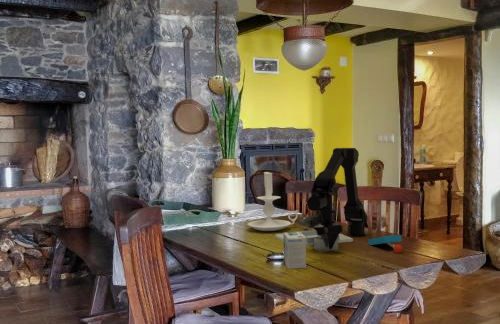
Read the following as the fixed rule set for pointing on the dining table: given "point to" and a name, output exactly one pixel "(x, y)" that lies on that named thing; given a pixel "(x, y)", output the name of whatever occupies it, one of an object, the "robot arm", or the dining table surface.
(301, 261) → the light bulb box
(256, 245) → the dining table surface
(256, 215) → the dining table surface
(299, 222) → the wheel
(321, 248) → the block
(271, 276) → the dining table surface
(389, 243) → the lever
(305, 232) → the chassis
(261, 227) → the candlestick
